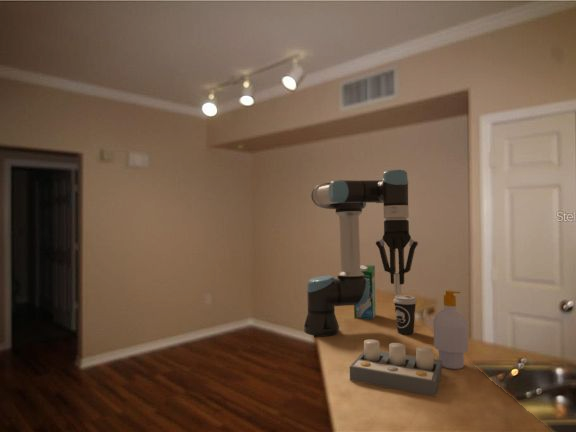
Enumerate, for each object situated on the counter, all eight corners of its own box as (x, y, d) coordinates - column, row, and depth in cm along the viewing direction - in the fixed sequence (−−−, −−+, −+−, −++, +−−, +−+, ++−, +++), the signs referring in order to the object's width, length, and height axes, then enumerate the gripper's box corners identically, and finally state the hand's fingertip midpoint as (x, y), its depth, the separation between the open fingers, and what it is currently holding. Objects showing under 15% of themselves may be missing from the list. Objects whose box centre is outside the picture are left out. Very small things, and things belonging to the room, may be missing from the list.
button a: (362, 362, 117) (362, 343, 117) (366, 357, 121) (366, 338, 121) (377, 364, 115) (377, 345, 115) (381, 359, 119) (380, 340, 119)
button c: (415, 370, 110) (414, 350, 110) (417, 365, 114) (417, 345, 114) (432, 373, 107) (432, 353, 107) (434, 367, 112) (434, 347, 112)
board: (349, 379, 111) (349, 364, 111) (366, 360, 126) (365, 347, 126) (435, 396, 100) (435, 379, 100) (442, 373, 115) (441, 358, 115)
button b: (387, 366, 113) (387, 346, 113) (391, 361, 118) (391, 342, 118) (404, 369, 111) (403, 349, 111) (407, 363, 115) (406, 344, 115)
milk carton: (354, 317, 182) (353, 266, 182) (357, 313, 190) (357, 264, 191) (372, 319, 179) (371, 267, 179) (375, 314, 187) (374, 265, 187)
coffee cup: (419, 336, 151) (418, 299, 151) (394, 335, 153) (394, 299, 153) (415, 329, 161) (415, 295, 161) (392, 328, 163) (392, 294, 163)
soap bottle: (466, 374, 114) (464, 295, 114) (431, 367, 119) (429, 292, 120) (470, 363, 123) (468, 289, 123) (437, 357, 128) (435, 287, 128)
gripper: (372, 219, 117) (373, 295, 116) (415, 219, 110) (417, 298, 110) (378, 219, 123) (379, 290, 123) (419, 219, 117) (421, 294, 117)
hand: (397, 294), depth 116 cm, fingers closed
